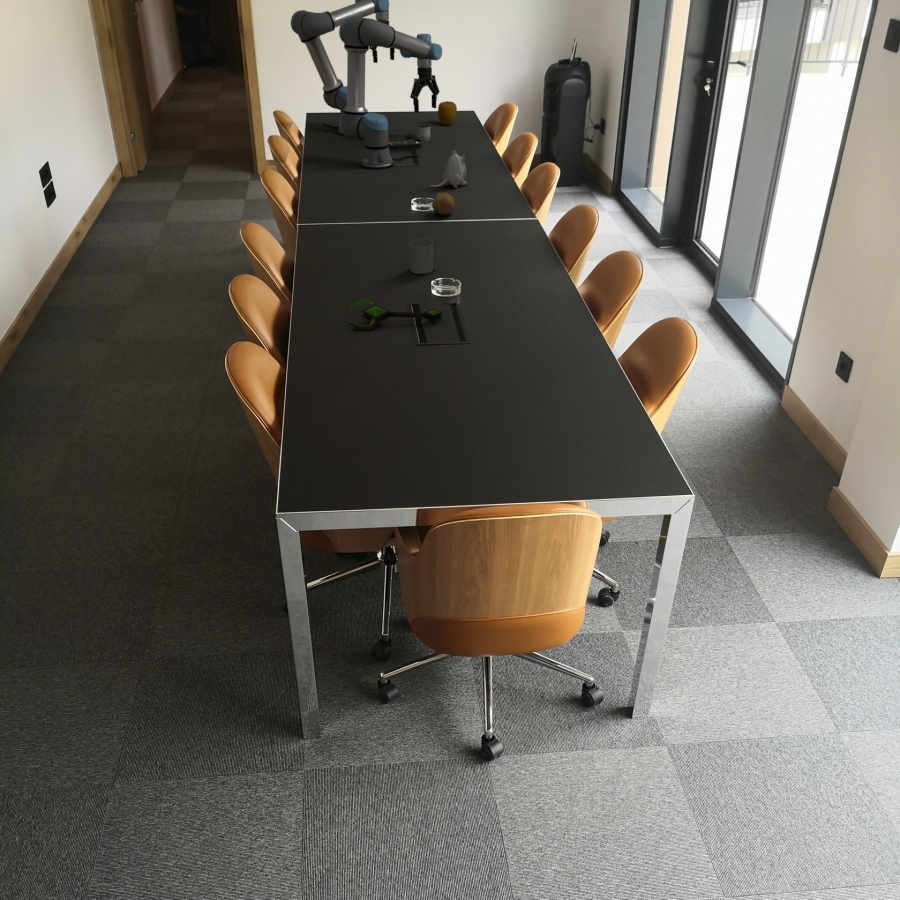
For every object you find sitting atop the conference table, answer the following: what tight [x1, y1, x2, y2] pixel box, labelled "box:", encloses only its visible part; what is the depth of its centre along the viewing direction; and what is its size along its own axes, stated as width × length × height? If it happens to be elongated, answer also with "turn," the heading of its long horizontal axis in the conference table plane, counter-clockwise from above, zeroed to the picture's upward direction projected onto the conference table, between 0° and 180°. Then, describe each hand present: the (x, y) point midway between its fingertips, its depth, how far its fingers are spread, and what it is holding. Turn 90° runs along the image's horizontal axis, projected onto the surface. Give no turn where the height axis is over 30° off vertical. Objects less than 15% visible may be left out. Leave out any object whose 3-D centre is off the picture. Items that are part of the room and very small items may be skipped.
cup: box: [408, 237, 434, 275], centre depth 305 cm, size 8×8×10 cm
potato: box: [431, 192, 456, 216], centre depth 360 cm, size 10×14×8 cm
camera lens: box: [418, 124, 431, 143], centre depth 469 cm, size 6×6×8 cm
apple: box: [437, 100, 458, 126], centre depth 500 cm, size 11×11×13 cm
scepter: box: [345, 298, 443, 331], centre depth 269 cm, size 6×13×30 cm
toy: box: [428, 149, 468, 189], centre depth 390 cm, size 9×24×15 cm, turn 137°
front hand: (425, 110), depth 460 cm, fingers open, 13 cm apart
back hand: (383, 61), depth 494 cm, fingers open, 13 cm apart
